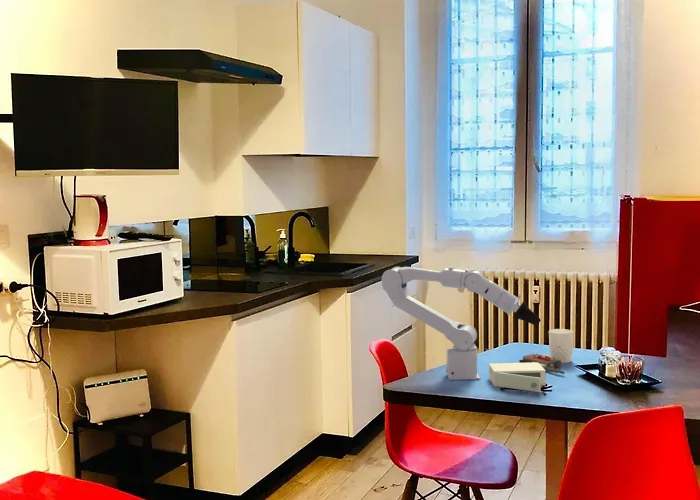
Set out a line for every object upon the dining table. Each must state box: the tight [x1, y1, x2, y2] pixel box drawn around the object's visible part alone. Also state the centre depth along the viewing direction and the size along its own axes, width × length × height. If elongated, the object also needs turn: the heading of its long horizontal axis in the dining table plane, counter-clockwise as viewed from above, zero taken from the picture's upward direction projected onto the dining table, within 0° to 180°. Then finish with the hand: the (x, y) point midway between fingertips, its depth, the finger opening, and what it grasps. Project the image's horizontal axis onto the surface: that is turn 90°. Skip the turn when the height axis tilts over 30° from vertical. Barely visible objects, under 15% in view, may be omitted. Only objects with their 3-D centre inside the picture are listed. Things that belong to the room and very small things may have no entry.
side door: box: [496, 372, 542, 393], centre depth 219 cm, size 13×2×4 cm, turn 53°
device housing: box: [488, 362, 547, 387], centre depth 229 cm, size 15×10×4 cm
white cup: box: [548, 328, 574, 364], centre depth 253 cm, size 8×8×10 cm
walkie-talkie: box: [518, 352, 565, 375], centre depth 243 cm, size 9×4×20 cm
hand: (538, 322), depth 228 cm, fingers open, 7 cm apart
